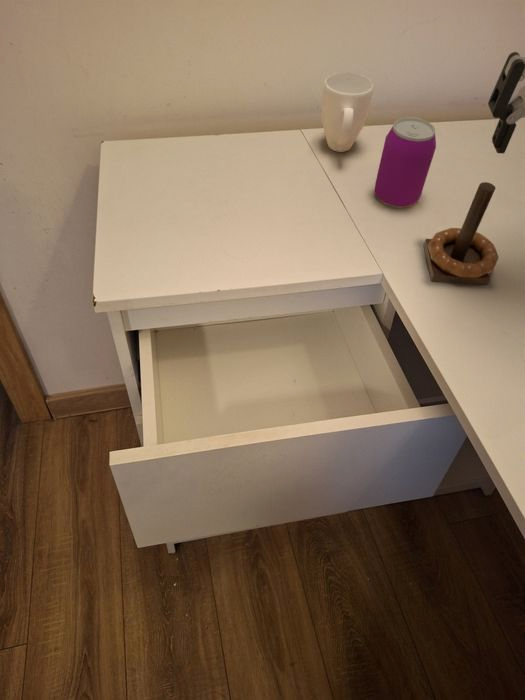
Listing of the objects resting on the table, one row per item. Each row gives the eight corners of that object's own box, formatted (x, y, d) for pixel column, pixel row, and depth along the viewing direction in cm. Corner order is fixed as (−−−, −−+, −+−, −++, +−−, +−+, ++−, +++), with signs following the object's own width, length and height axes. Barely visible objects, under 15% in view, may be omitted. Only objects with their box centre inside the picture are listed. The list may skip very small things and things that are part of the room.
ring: (485, 237, 78) (490, 226, 77) (501, 281, 72) (507, 271, 71) (422, 234, 78) (426, 224, 76) (433, 278, 72) (437, 268, 71)
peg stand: (476, 247, 78) (511, 170, 68) (487, 284, 73) (527, 207, 63) (423, 244, 78) (450, 167, 68) (431, 281, 74) (461, 203, 63)
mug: (317, 132, 98) (324, 70, 89) (360, 135, 98) (372, 72, 89) (316, 168, 91) (324, 103, 82) (363, 171, 90) (376, 107, 81)
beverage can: (378, 178, 89) (394, 110, 80) (422, 189, 87) (444, 121, 78) (368, 203, 84) (383, 134, 75) (414, 215, 83) (436, 146, 73)
